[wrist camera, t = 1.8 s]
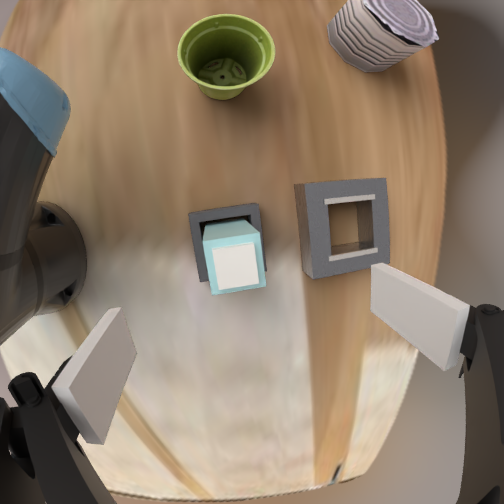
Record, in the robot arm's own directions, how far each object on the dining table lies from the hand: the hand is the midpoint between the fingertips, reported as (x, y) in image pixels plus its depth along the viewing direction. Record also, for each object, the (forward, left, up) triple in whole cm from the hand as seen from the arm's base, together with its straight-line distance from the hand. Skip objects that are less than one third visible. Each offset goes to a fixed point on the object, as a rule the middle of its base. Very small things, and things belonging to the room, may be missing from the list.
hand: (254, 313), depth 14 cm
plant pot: (+2, +20, -21) cm, 29 cm away
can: (+23, +27, -21) cm, 41 cm away
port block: (+14, 0, -21) cm, 25 cm away
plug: (0, 0, -21) cm, 21 cm away
